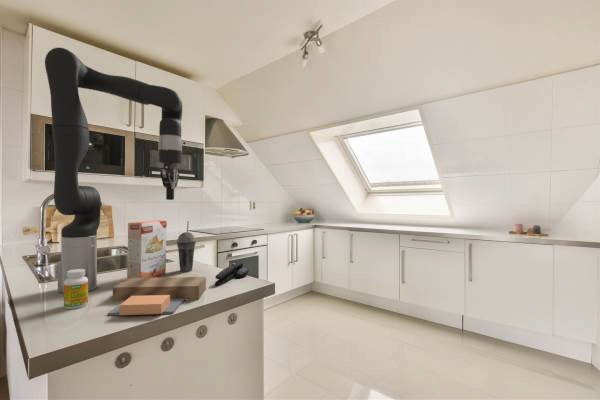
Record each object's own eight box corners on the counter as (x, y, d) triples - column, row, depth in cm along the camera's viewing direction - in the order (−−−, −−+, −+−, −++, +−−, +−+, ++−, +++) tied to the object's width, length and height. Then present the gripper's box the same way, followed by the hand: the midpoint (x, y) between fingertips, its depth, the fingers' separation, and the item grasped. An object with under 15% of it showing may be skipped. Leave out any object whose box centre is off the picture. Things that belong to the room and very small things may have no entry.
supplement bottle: (68, 311, 79) (68, 274, 79) (60, 306, 82) (60, 271, 82) (91, 304, 84) (91, 269, 83) (82, 301, 86) (82, 267, 86)
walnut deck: (112, 301, 87) (112, 287, 86) (128, 290, 96) (128, 277, 96) (198, 299, 89) (198, 285, 89) (205, 289, 99) (206, 276, 99)
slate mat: (107, 315, 76) (107, 313, 76) (126, 301, 86) (126, 299, 86) (173, 313, 78) (173, 311, 78) (184, 300, 88) (184, 298, 88)
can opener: (235, 273, 120) (235, 259, 120) (251, 275, 118) (251, 260, 118) (207, 285, 104) (207, 269, 103) (224, 287, 101) (224, 271, 101)
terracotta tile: (131, 295, 82) (131, 305, 82) (119, 305, 75) (119, 315, 75) (170, 294, 83) (170, 303, 83) (161, 303, 76) (161, 313, 76)
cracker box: (141, 283, 104) (141, 223, 104) (126, 282, 105) (126, 222, 105) (167, 273, 118) (167, 220, 117) (153, 272, 119) (153, 219, 119)
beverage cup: (172, 272, 119) (173, 221, 119) (182, 268, 127) (183, 220, 126) (189, 273, 118) (190, 222, 118) (199, 269, 125) (199, 220, 125)
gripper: (165, 152, 111) (165, 199, 111) (151, 146, 98) (151, 199, 98) (186, 152, 112) (186, 199, 112) (175, 147, 99) (175, 200, 99)
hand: (170, 199), depth 105 cm, fingers closed
